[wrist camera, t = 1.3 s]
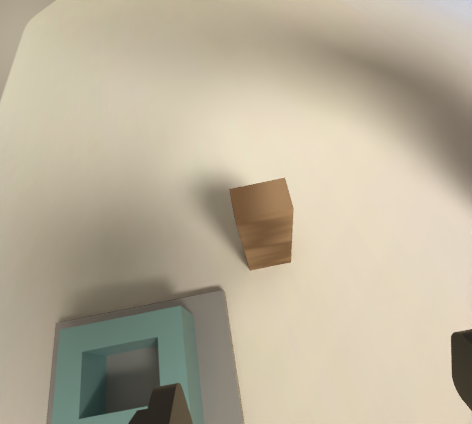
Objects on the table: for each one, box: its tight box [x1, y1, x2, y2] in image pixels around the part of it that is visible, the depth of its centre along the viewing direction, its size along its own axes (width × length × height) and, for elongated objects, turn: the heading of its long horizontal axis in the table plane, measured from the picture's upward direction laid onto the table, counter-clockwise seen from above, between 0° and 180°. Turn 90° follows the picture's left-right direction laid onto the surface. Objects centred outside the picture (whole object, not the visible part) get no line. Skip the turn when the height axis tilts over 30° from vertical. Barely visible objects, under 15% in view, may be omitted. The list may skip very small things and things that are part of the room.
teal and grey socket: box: [47, 290, 244, 424], centre depth 27 cm, size 16×12×5 cm
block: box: [230, 178, 293, 270], centre depth 28 cm, size 4×2×11 cm, turn 99°
